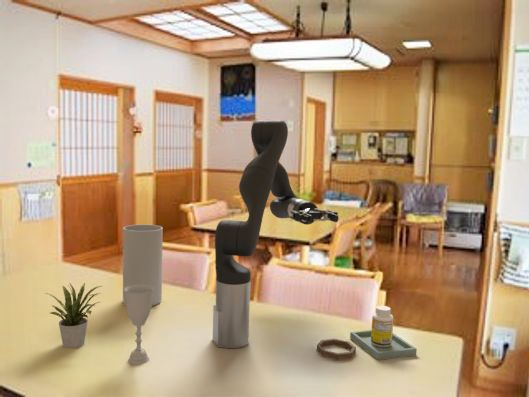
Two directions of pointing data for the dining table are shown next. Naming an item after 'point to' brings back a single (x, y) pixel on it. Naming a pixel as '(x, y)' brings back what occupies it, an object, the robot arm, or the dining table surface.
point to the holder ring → (332, 354)
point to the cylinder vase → (143, 259)
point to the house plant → (73, 317)
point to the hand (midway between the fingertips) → (324, 219)
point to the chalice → (138, 316)
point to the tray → (394, 351)
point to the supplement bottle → (382, 327)
